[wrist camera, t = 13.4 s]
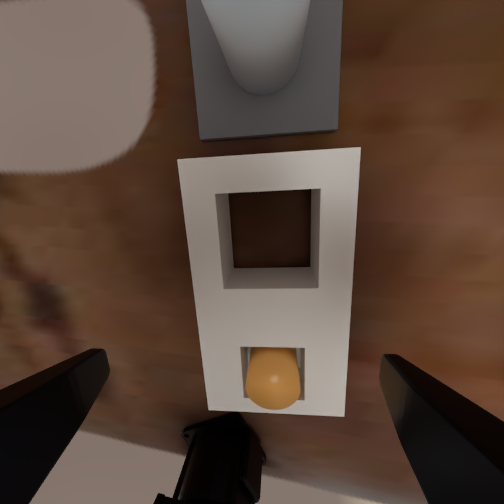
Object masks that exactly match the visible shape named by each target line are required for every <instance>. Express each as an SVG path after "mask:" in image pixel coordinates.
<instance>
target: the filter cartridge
mask: <svg viewBox="0 0 504 504" xmlns="http://www.w3.org/2000/svg"><path fill="white" fill-rule="evenodd" d="M201 2H202V4H203V7H204V9H205V11H206V14H207V16H208V19H209V21H210V23H211V26H212V28H213V31H214V33H215V35H216V38H217V40H218V43H219V45H220V47H221V50H222V52H223V55H224V57H225V59H226V62H227V64H228V67H229V69H230V71H231V74H232V76H233V78H234V79H235V81H236V82H237V84H238V85H239V86H240V87H241V88H243V89H244V90H245V91H247V92H249V93H251V94H255V95H270V94H273V93H275V92H277V91H279V90H281V89H282V88H283V87H285V86H286V85H287V84H288V83H289V81H290V80H291V79H292V77H293V76H294V74H295V72H296V70H297V67H298V64H299V60H300V54H301V49H302V44H303V38H304V33H305V27H306V22H307V16H308V11H309V6H310V0H201Z"/></svg>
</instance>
